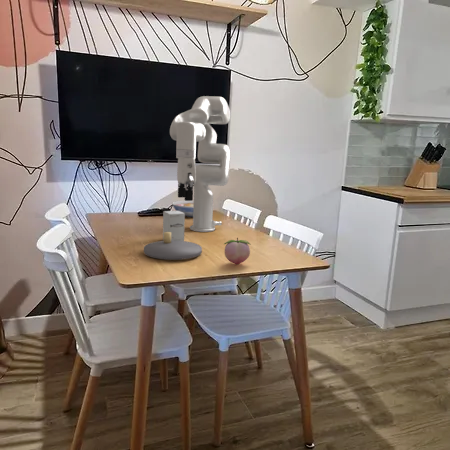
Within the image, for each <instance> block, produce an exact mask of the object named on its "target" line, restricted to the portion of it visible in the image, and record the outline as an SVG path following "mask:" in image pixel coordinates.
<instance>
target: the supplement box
mask: <svg viewBox="0 0 450 450" xmlns="http://www.w3.org/2000/svg"><path fill="white" fill-rule="evenodd" d="M162 213H163V215H162V216H163V217H162V219H163V220H162V223H163V224H162V240H164V232H171V241H185V219H186V216H185V213H183V212H181V211H176V210H165V211H164V210H163V211H162Z"/></svg>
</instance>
